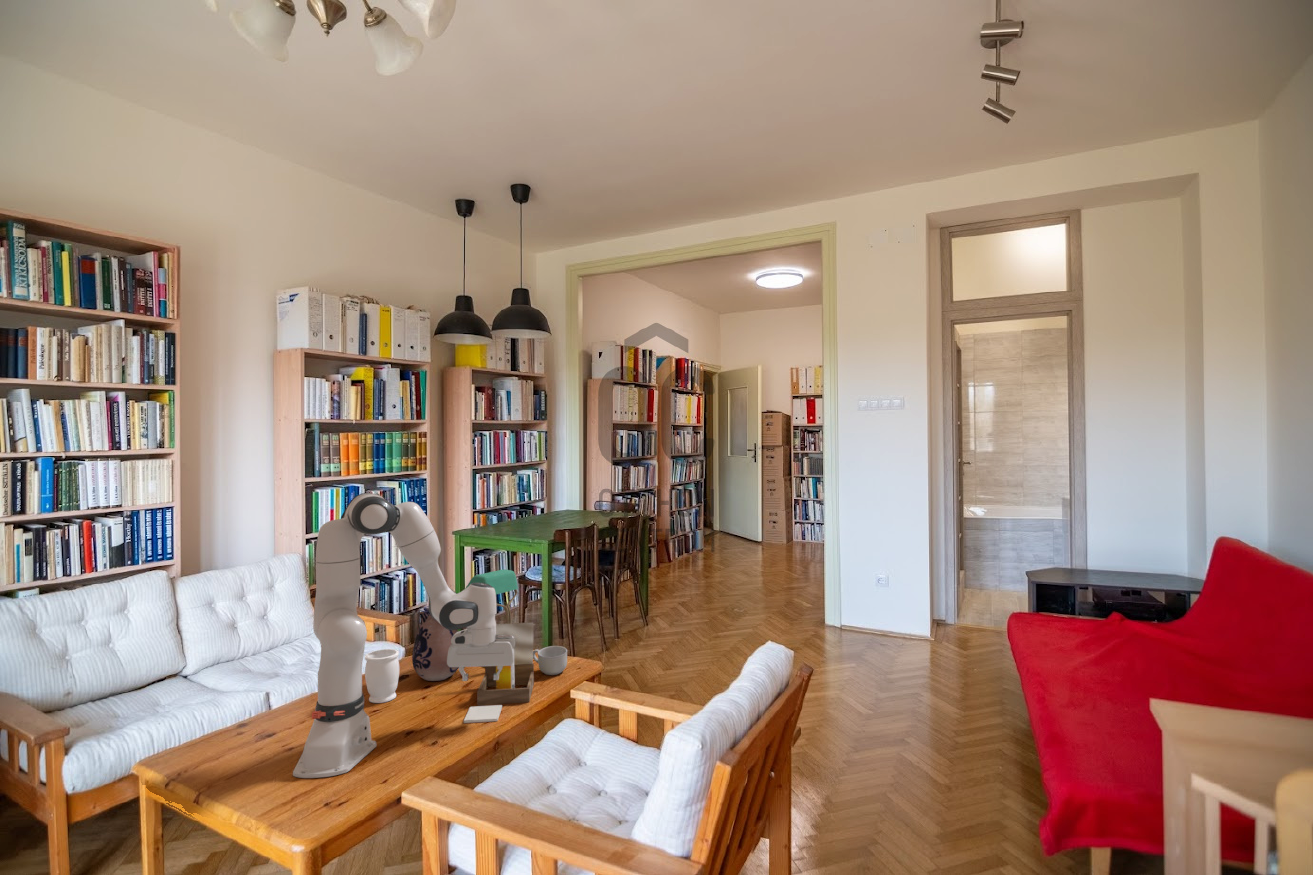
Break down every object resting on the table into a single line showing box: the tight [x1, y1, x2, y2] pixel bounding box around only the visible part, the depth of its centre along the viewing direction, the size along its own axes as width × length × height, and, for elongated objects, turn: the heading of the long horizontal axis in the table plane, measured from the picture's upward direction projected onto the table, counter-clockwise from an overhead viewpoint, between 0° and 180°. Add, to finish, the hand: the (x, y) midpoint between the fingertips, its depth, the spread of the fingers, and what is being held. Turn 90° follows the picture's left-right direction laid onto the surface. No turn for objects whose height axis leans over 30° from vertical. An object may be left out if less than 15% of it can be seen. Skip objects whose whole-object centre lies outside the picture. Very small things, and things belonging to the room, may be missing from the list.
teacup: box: [533, 645, 568, 676], centre depth 233 cm, size 14×11×8 cm
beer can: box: [495, 662, 516, 689], centre depth 212 cm, size 6×6×15 cm
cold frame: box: [476, 622, 535, 706], centre depth 215 cm, size 21×17×20 cm
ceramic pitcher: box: [411, 605, 467, 682], centre depth 231 cm, size 18×21×25 cm
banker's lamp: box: [463, 569, 519, 668], centre depth 242 cm, size 16×21×35 cm
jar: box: [364, 648, 400, 704], centre depth 210 cm, size 11×10×15 cm
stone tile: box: [463, 704, 503, 724], centre depth 196 cm, size 10×10×1 cm
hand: (480, 680), depth 196 cm, fingers open, 8 cm apart
